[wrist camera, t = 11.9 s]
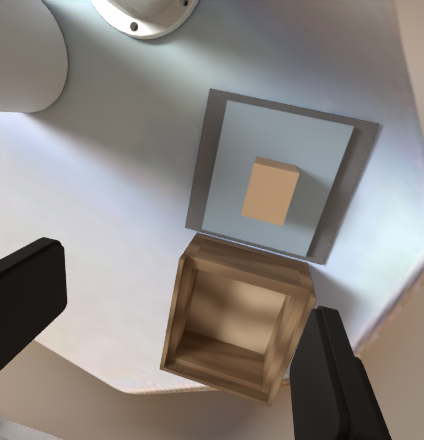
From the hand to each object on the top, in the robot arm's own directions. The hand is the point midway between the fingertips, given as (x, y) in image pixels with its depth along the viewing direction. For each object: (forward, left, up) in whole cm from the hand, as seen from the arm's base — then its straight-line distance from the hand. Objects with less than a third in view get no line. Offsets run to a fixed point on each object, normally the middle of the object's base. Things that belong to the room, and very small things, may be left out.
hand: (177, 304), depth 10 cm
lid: (-1, +3, -22) cm, 23 cm away
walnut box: (+16, +3, -23) cm, 28 cm away
